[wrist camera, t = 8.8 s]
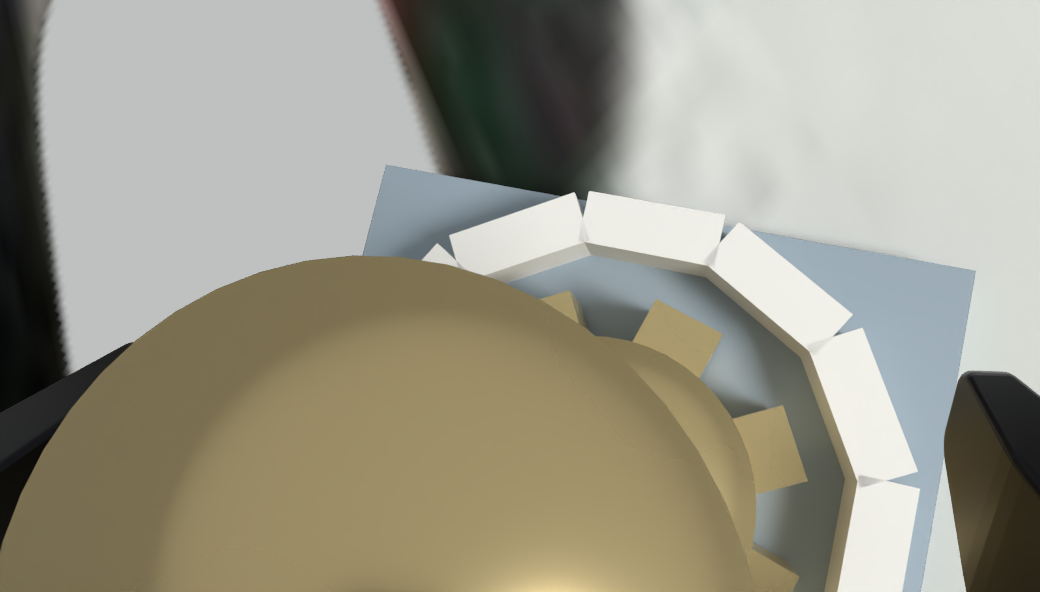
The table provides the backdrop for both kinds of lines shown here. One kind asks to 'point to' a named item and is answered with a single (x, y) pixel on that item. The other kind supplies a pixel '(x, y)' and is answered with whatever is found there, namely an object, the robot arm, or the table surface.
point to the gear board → (744, 345)
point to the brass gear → (402, 449)
